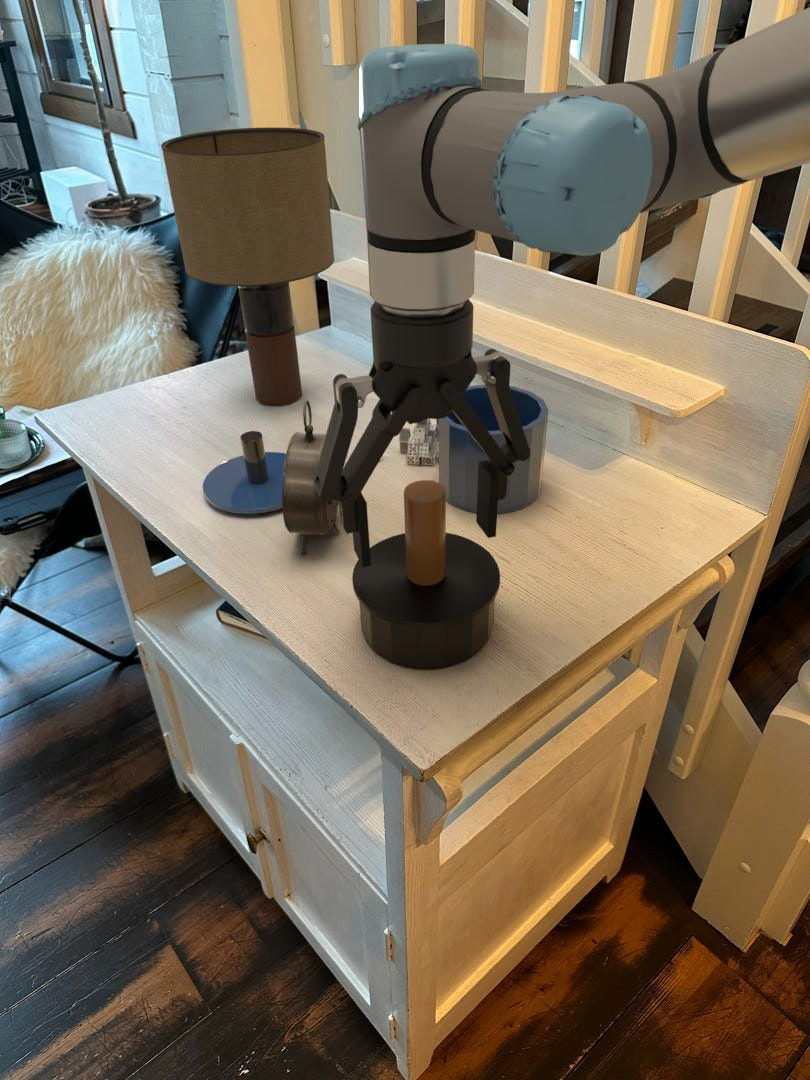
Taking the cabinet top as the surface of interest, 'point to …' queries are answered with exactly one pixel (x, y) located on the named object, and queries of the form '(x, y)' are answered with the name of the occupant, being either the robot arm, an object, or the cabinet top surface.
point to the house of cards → (419, 443)
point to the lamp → (255, 232)
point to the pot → (464, 453)
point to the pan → (427, 640)
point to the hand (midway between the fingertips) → (425, 543)
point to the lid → (426, 568)
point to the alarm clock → (305, 486)
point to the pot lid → (247, 479)
